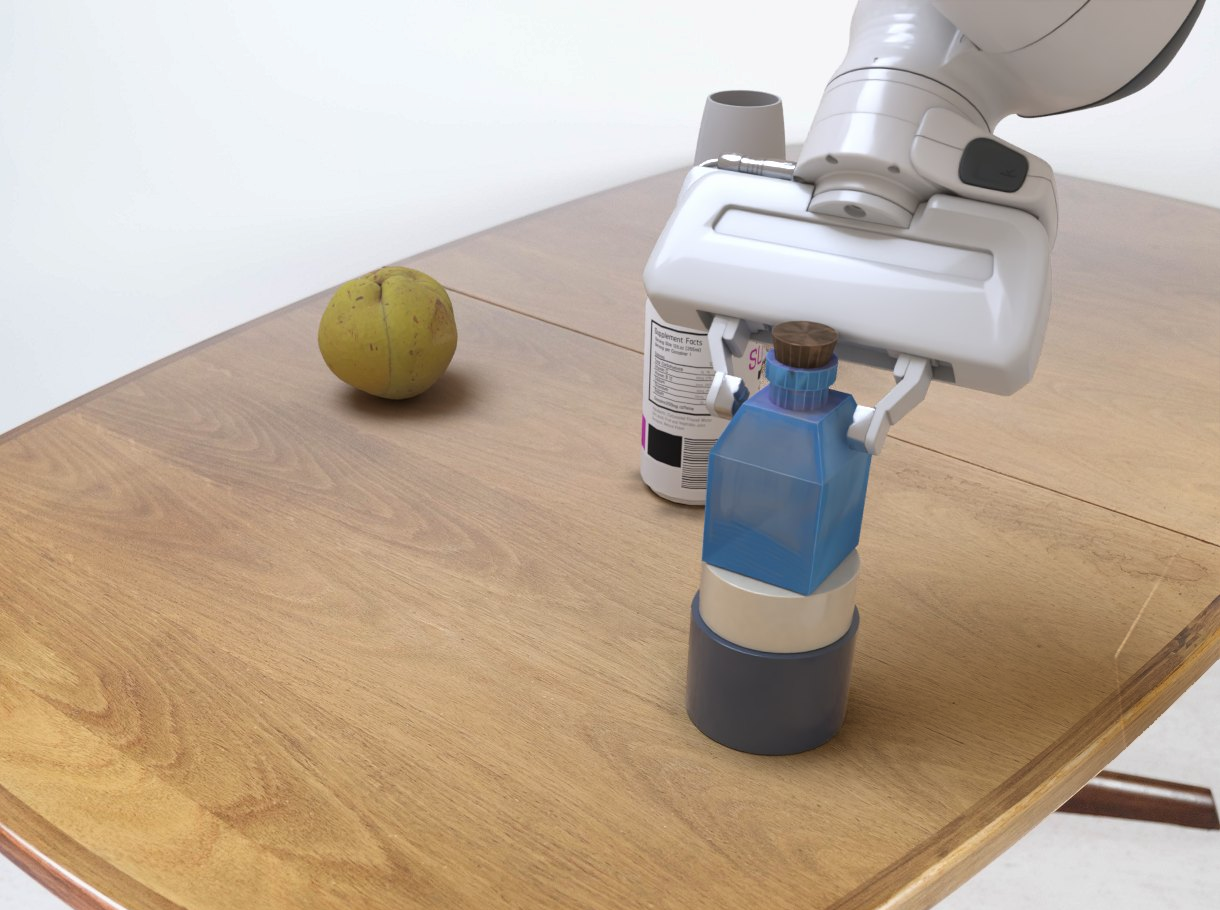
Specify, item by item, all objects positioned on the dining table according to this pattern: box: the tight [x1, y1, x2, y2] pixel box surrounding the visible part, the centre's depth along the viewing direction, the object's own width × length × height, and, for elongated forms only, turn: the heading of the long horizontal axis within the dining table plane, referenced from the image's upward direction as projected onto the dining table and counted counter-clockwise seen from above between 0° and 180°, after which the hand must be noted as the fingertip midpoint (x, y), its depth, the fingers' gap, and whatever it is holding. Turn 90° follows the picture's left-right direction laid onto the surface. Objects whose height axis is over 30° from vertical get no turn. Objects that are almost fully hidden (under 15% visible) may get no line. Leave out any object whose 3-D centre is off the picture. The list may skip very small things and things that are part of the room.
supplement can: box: [640, 297, 765, 506], centre depth 94 cm, size 8×8×15 cm
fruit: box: [317, 266, 459, 400], centre depth 107 cm, size 11×12×10 cm
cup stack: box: [684, 547, 862, 756], centre depth 74 cm, size 9×9×10 cm
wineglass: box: [692, 89, 787, 363], centre depth 112 cm, size 8×8×21 cm
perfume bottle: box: [701, 321, 873, 596], centre depth 67 cm, size 6×6×12 cm
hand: (790, 431), depth 66 cm, fingers closed on perfume bottle, 6 cm apart
